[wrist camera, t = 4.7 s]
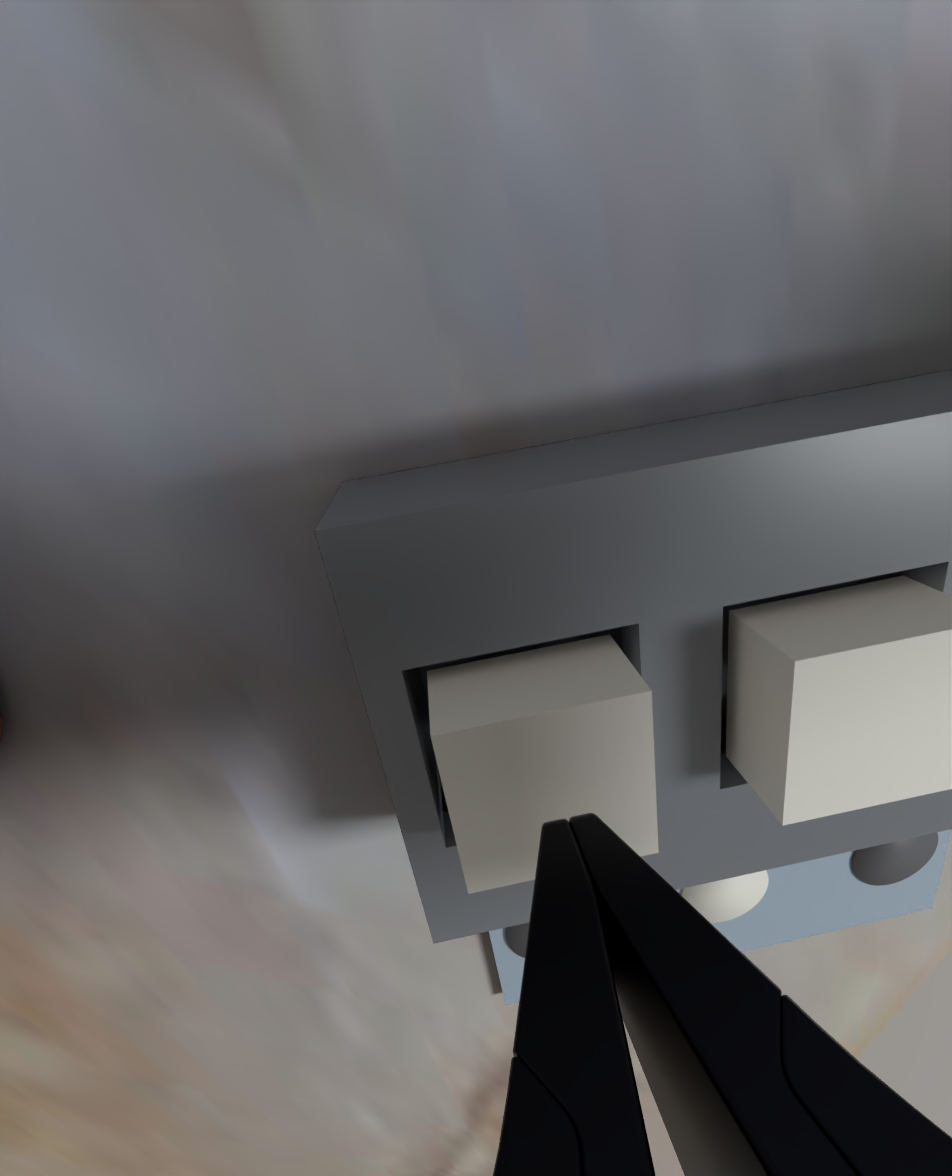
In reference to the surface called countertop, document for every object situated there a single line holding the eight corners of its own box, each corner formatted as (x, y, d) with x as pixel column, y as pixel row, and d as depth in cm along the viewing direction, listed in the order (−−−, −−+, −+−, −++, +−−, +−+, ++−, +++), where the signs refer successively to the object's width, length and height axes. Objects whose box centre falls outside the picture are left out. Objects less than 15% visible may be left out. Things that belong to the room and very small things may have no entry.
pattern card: (956, 750, 18) (971, 760, 17) (922, 898, 20) (934, 910, 20) (472, 854, 17) (474, 867, 17) (503, 993, 20) (506, 1008, 19)
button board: (1086, 344, 13) (1350, 336, 9) (998, 692, 17) (1160, 782, 13) (343, 481, 12) (314, 530, 9) (428, 812, 16) (433, 943, 13)
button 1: (609, 633, 11) (652, 691, 9) (620, 778, 12) (658, 852, 10) (426, 670, 10) (430, 736, 9) (459, 811, 12) (468, 894, 10)
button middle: (903, 575, 11) (1003, 618, 9) (880, 723, 12) (963, 786, 10) (729, 610, 11) (795, 661, 9) (725, 755, 12) (782, 825, 10)
